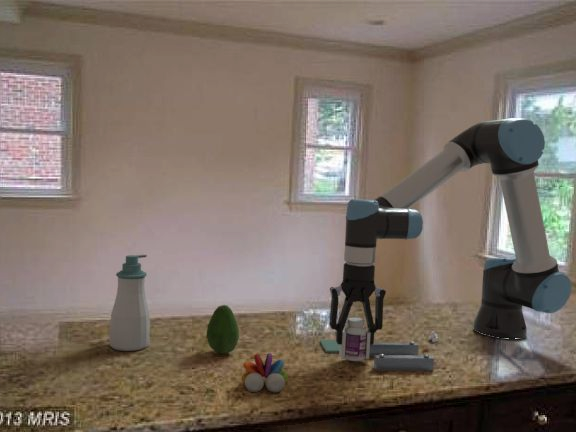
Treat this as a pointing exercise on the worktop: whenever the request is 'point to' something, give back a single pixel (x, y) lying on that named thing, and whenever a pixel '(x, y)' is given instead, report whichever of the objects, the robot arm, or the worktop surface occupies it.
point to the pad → (330, 346)
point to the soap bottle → (130, 309)
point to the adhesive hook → (433, 336)
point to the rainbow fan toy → (264, 374)
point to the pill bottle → (355, 340)
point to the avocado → (223, 330)
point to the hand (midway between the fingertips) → (354, 356)
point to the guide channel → (399, 357)
